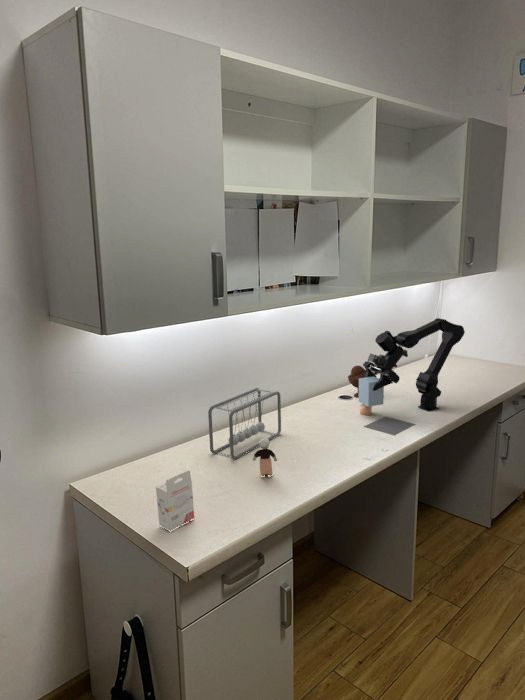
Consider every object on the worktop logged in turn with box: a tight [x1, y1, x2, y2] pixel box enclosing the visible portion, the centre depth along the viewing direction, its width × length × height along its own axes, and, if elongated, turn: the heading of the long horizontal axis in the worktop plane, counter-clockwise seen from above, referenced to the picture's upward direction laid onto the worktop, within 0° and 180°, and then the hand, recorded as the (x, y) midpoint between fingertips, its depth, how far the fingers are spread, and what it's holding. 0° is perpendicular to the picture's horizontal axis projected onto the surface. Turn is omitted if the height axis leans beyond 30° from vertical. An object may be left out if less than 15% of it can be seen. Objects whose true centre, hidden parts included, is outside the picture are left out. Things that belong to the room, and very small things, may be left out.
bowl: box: [359, 403, 373, 417], centre depth 221 cm, size 5×5×4 cm
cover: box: [358, 376, 385, 407], centre depth 214 cm, size 7×7×10 cm
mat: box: [363, 416, 416, 436], centre depth 207 cm, size 16×14×1 cm
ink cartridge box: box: [155, 469, 195, 531], centre depth 139 cm, size 9×5×15 cm, turn 138°
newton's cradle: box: [207, 387, 282, 460], centre depth 192 cm, size 30×10×18 cm, turn 144°
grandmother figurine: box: [252, 437, 278, 476], centre depth 166 cm, size 8×4×13 cm, turn 99°
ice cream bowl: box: [347, 365, 366, 399], centre depth 245 cm, size 11×11×15 cm
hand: (368, 387), depth 213 cm, fingers closed on cover, 7 cm apart
